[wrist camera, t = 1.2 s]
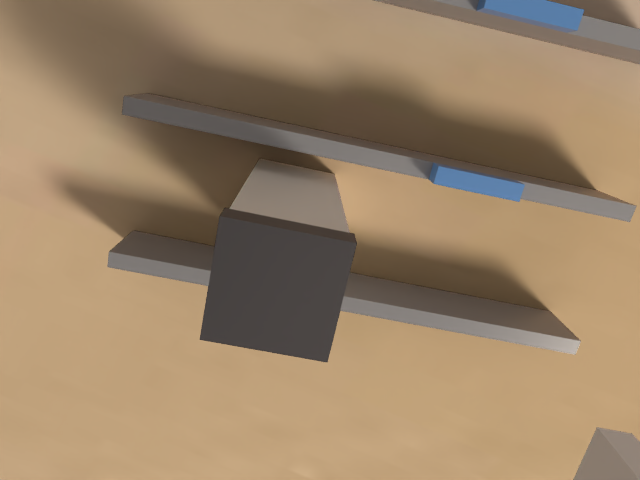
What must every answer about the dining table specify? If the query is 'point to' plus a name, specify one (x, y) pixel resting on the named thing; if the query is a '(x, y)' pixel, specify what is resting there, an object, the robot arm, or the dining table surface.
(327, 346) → the block
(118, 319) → the dining table surface
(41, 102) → the dining table surface
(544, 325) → the grey upright slats
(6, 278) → the dining table surface
